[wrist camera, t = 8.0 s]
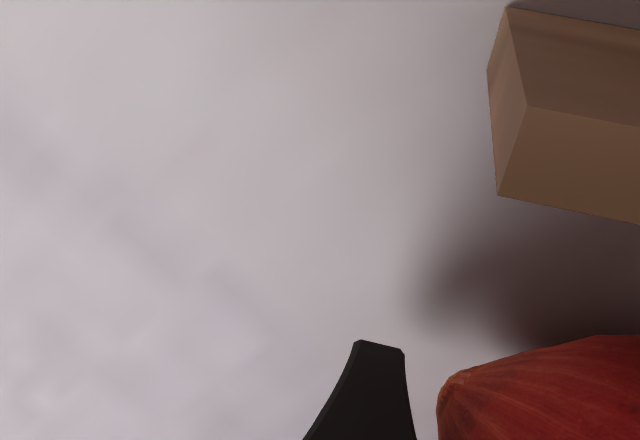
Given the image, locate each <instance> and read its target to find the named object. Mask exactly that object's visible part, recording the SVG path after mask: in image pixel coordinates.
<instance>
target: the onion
mask: <svg viewBox="0 0 640 440" xmlns="http://www.w3.org/2000/svg"><path fill="white" fill-rule="evenodd" d="M436 416H437V424H438V438H439V440H640V335H594V336H590V337H586V338H582V339H578V340H575V341H571V342H567V343H563V344H559V345H556V346H552V347H544V348H537V349H533V350H529V351H526V352H523V353H519V354H516V355H512V356H509V357H505V358H502V359H499V360H496V361H492V362H489V363H486V364H483V365H480V366H475V367H472V368H469V369H465V370H461V371H459V372H457V373H455V374H454V375H452V376H450V377H449V378H448V380H447V381H446V383H445V384H444V385H443V387H442V388H441V390H440V392H439V395H438V399H437V406H436Z"/></svg>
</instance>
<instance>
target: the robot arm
mask: <svg viewBox="0 0 640 440" xmlns="http://www.w3.org/2000/svg"><path fill="white" fill-rule="evenodd" d="M302 440H417V438H416V434H415V429H414V424H413V419H412V414H411V409H410V403H409V397H408V390H407V383H406V374H405V355H404V353H403V352H402V351H401V349H399V348H395V347H390V346H386V345H382V344H378V343H374V342H370V341H365V340H358V341H356V342H354V344H353V347H352V351H351V354H350V356H349V359H348V361H347V364H346V366H345V368H344V370H343V373H342V375H341V377H340V379H339V381H338V382H337V384H336V386H335V388H334V390H333V392H332V394H331V395H330V397H329V399H328V400H327V402H326V404H325V405H324V407H323V408H322V410H321V412H320V413H319V415H318V417H317V418H316V420H315V422H314V423H313V425H312V426H311V428H310V429H309V431H308V432H307V434H306V435H305V437H304V438H303V439H302Z"/></svg>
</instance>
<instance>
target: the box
mask: <svg viewBox="0 0 640 440" xmlns="http://www.w3.org/2000/svg"><path fill="white" fill-rule="evenodd" d="M487 81H488V92H489V104H490V116H491V128H492V140H493V152H494V163H495V175H496V187H497V195H498V196H503V197H508V198H512V199H517V200H522V201H527V202H532V203H536V204H541V205H546V206H551V207H556V208H560V209H565V210H570V211H575V212H580V213H584V214H589V215H594V216H599V217H604V218H608V219H613V220H618V221H623V222H628V223H632V224H637V225H640V30H636V29H630V28H624V27H619V26H613V25H607V24H602V23H596V22H591V21H585V20H579V19H574V18H568V17H562V16H557V15H551V14H545V13H540V12H534V11H529V10H523V9H517V8H512V7H506V6H505V9H504V12H503V16H502V19H501V23H500V26H499V30H498V33H497V37H496V40H495V43H494V47H493V50H492V54H491V57H490V61H489V64H488V68H487Z"/></svg>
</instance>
